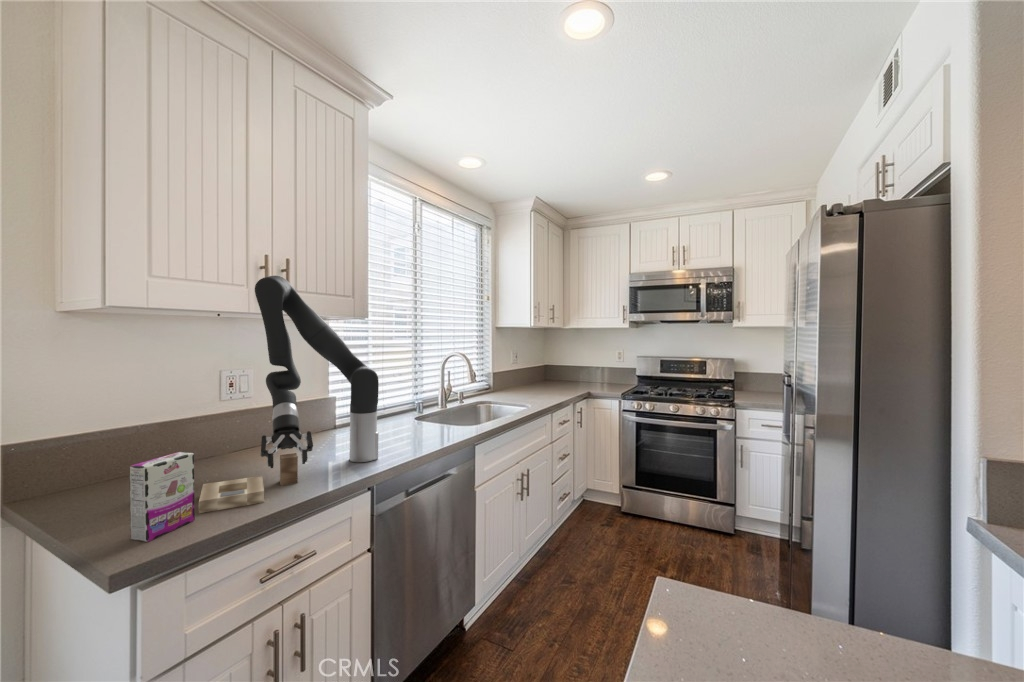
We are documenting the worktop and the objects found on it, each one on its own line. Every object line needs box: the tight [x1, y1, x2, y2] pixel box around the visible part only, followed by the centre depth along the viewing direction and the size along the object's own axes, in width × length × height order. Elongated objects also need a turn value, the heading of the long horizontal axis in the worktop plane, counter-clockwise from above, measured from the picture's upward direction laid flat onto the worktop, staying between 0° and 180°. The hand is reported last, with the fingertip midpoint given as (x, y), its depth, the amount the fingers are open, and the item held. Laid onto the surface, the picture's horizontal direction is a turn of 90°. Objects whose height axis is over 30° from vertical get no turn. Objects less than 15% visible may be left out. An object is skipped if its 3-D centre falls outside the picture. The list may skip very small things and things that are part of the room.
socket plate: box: [198, 475, 265, 514], centre depth 115 cm, size 14×14×3 cm
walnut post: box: [279, 452, 299, 486], centre depth 128 cm, size 4×4×8 cm
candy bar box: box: [129, 451, 196, 543], centre depth 96 cm, size 11×5×16 cm, turn 168°
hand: (288, 464), depth 128 cm, fingers open, 8 cm apart
